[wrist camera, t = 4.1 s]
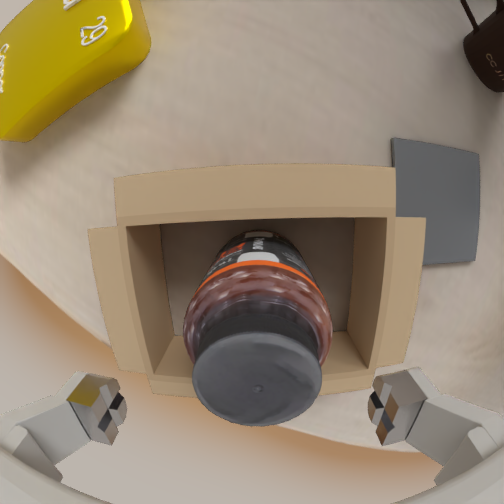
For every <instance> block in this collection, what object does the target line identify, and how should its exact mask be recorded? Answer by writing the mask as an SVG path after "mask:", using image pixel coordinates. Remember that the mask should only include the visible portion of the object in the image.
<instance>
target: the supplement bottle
mask: <svg viewBox="0 0 504 504" xmlns="http://www.w3.org/2000/svg"><path fill="white" fill-rule="evenodd" d="M332 336H333V325H332V320H331V315H330V311H329V308H328V305H327V303H326V301H325V299H324V297H323V295H322V293H321V291H320V289H319V287H318V285H317V284H316V282H315V280H314V278H313V276H312V274H311V273H310V271H309V269H308V267H307V266H306V264H305V262H304V260H303V258H302V256H301V255H300V253H299V251H298V250H297V249H296V248H295V246H294V245H293V244H292V243H291V242H290V241H288V240H287V239H286V238H284V237H283V236H281V235H279V234H276V233H273V232H269V231H262V230H259V231H257V230H256V231H249V232H245V233H243V234H240V235H238V236H236V237H235V238H233V239H232V240H231V241H229V242H228V243H227V244H226V245H225V246H224V247H223V248H222V249H221V250H220V252H219V253H218V255H217V256H216V258H215V260H214V262H213V264H212V265H211V267H210V269H209V271H208V272H207V274H206V275H205V277H204V278H203V280H202V282H201V284H200V285H199V287H198V289H197V290H196V292H195V295H194V296H193V298H192V300H191V302H190V304H189V306H188V308H187V311H186V315H185V318H184V326H183V338H184V344H185V347H186V350H187V353H188V355H189V357H190V360H191V361H192V363H193V364H194V366H193V371H192V384H193V387H194V390H195V392H196V395H197V397H198V399H199V400H200V401H201V403H202V404H203V405H204V406H205V407H206V408H207V409H208V410H209V411H211V412H212V413H213V414H215V415H217V416H219V417H221V418H223V419H225V420H228V421H230V422H231V423H237V424H240V425H246V426H269V425H275V424H279V423H283V422H285V421H289V420H291V419H293V418H295V417H297V416H299V415H300V414H302V413H303V412H304V411H306V410H307V409H308V408H309V407H310V406H311V405H312V404H313V402H314V400H315V399H316V398H317V396H318V394H319V392H320V390H321V386H322V371H321V367H322V365H323V364H324V362H325V360H326V358H327V356H328V353H329V351H330V348H331V344H332Z"/></svg>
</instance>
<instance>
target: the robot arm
mask: <svg viewBox="0 0 504 504" xmlns="http://www.w3.org/2000/svg"><path fill="white" fill-rule="evenodd" d="M373 388H374V390H375V391H374V392H373V393H372V394H371V395H370V397H369V401H368V414H369V418H370V420H371V422H372V423H374V424H375V425H377V426H378V427H377V430H376V434H377V436H378V438H379V440H380V443H381V445H382V446H384V445H388V444H392V443H396V442H400V441H403V440H406V442H407V443H409V444H410V445H412V446H413V447H415V448H416V449H418V450H419V451H421V452H422V453H424V454H425V455H427V456H428V457H430V458H431V459H433V460H435V461H436V462H438V463H439V464H441V465H442V466H444V467H443V468H442V470H441V471H440V472H439V473H438V475H437V476H436V477H435V479H434V481H435V483H436V485H437V486H435V487H433V488H431V489H429V490H426V491H424V492H422V493H419V494H417V495H415V496H412V497H409V498H406V499H404V500H401V501H398V502H395V503H393V504H504V418H503V417H502V416H501V415H500V414H499V413H497V412H494V411H491V410H488V409H485V408H482V407H480V406H477V405H474V404H471V403H469V402H466V401H463V400H461V399H458V398H456V397H453V396H450V395H448V394H442V395H441V393H440V392H439V391H438V390H437V388H436V387H435V386H434V385H433V383H432V382H431V381H430V380H429V378H428V377H427V376H426V375H425V373H424V372H423V371H422V370H421V369H420V368H418V367H414V368H410V369H406V370H404V371H399V372H395V373H390V374H385V375H380V376H376V378H375V379H374V382H373ZM119 390H120V386H119V384H118V382H117V380H116V379H114V378H110V377H105V376H100V375H96V374H91V373H86V372H82V371H77V372H75V373H74V374H73V375H72V376H71V378H70V379H69V380H68V381H67V382H66V383H65V384H64V386H63V387H62V388H61V389H60V390H59V391H58V392H57V394H56V395H55V396H49V397H46V398H43V399H41V400H38V401H36V402H33V403H30V404H28V405H25V406H23V407H20V408H17V409H14V410H12V411H9V412H6V413H4V414H1V416H0V504H111V503H109V502H106V501H103V500H100V499H97V498H95V497H92V496H90V495H87V494H84V493H82V492H80V491H78V490H75V489H73V488H71V487H68V486H66V485H64V484H62V483H60V482H61V480H62V478H63V477H62V474H61V473H60V472H59V471H58V470H57V468H56V467H55V466H54V465H55V464H57V463H58V462H60V461H62V460H63V459H65V458H66V457H68V456H69V455H71V454H72V453H74V452H75V451H77V450H78V449H80V448H81V447H83V446H84V445H86V444H87V443H88V442H90V441H91V440H94V441H97V442H100V443H104V444H108V445H112V444H113V442H114V440H115V438H116V436H117V434H118V429H117V426H119V425H121V424H122V423H123V422H124V420H125V418H126V413H127V406H126V402H125V399H124V397H123V396H121V394H120V393H119V392H118V391H119Z"/></svg>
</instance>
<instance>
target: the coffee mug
mask: <svg viewBox="0 0 504 504" xmlns="http://www.w3.org/2000/svg"><path fill="white" fill-rule="evenodd" d="M461 3H462V5H463V7H464V9H465V12H466V14H467V16H468V18H469V20H470V22H471V24H472V26H473V31H472V32H471V33H469V34H468V35H467V36H466V37H465V39H464V42H463V45H464V51H465V54H466V57H467V59H468V61H469V63H470V65H471V67H472V69H473V70H474V72H475V73H476V75H477V76H478V77H479V79H480V80H481V81H482V82H483V83H484V84H485V85H486V86H487V87H488V88H489V89H491V90H492V91H495V92H504V2H503V0H497V7H496V10H495V11H494V12H493V13H492V14H491V15H490V16H489V17H487V18H486V19H485V20H484V21H483V22H482V23H481V24H480V25H477V23H476V21H475V18H474V16H473V14H472V12H471V10H470V8H469V6H468V4H467V2H466V0H461Z"/></svg>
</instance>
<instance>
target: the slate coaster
mask: <svg viewBox="0 0 504 504" xmlns="http://www.w3.org/2000/svg"><path fill="white" fill-rule="evenodd" d="M391 144H392V161H393V167H394V168H395V170H396V217H421V218H426V229H425V243H424V254H423V263H422V265H426V264H440V263H454V262H466V261H475V258H476V251H477V242H478V231H479V215H480V165H479V154H477V153H473V152H469V151H464V150H460V149H456V148H451V147H446V146H441V145H436V144H431V143H425V142H419V141H413V140H406V139H399V138H391Z"/></svg>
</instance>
